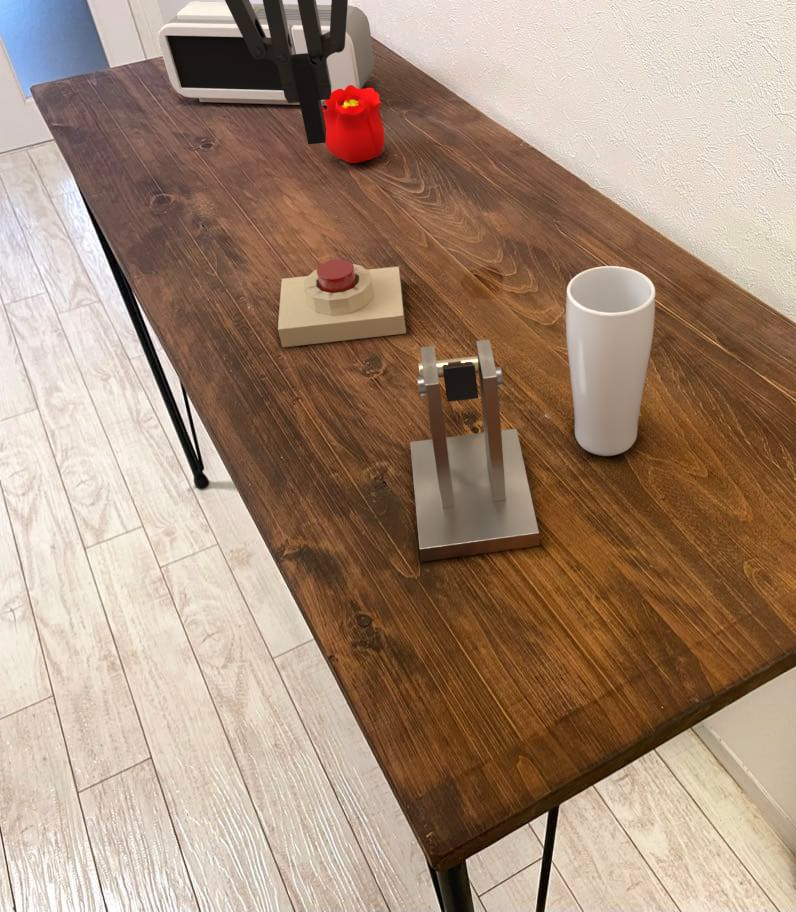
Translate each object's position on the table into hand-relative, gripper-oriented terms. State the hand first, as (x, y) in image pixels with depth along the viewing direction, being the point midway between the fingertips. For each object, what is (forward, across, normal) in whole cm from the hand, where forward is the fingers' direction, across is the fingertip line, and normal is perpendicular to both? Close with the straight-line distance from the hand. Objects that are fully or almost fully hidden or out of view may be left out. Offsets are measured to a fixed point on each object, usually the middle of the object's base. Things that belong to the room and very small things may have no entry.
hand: (317, 136), depth 79 cm
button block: (+19, +1, -1) cm, 19 cm away
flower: (+20, -1, -36) cm, 41 cm away
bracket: (+19, -9, +27) cm, 34 cm away
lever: (+11, -9, +23) cm, 27 cm away
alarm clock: (+20, +10, -59) cm, 63 cm away
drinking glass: (+19, -21, +22) cm, 36 cm away
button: (+16, +1, -1) cm, 16 cm away
